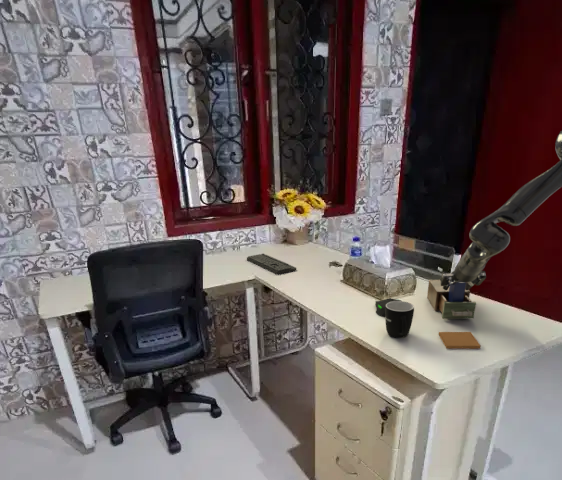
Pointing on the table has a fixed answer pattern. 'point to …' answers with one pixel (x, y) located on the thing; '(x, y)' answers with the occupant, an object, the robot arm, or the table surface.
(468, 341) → the cork pad
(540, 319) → the table surface
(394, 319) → the mug
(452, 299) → the card box
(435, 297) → the cabinet
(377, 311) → the black electronic device
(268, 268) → the keyboard
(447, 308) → the drawer
